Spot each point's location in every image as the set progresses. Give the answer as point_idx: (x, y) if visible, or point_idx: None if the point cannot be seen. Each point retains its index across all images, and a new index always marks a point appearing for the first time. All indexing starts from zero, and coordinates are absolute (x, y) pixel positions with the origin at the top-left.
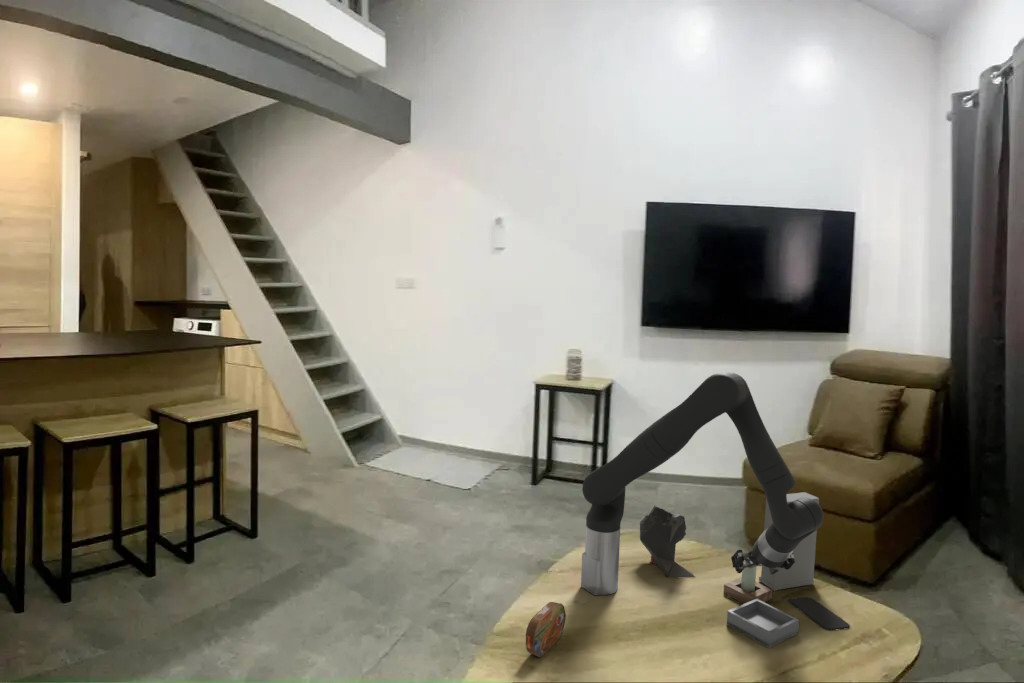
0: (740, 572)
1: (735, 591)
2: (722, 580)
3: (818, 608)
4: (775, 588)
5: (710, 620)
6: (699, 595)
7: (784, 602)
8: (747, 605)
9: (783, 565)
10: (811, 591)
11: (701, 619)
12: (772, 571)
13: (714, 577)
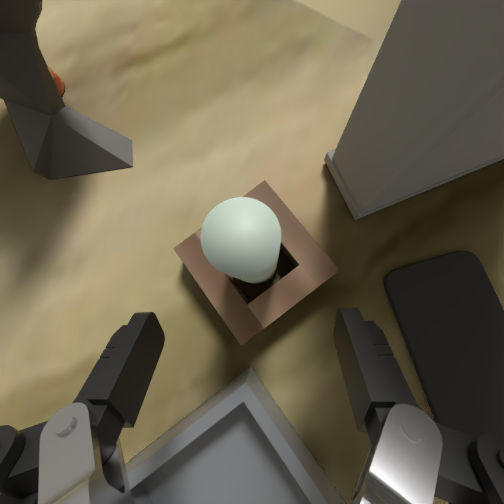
0: (156, 356)
1: (202, 288)
2: (208, 172)
3: (480, 335)
4: (363, 215)
5: None
6: (107, 277)
7: (368, 292)
8: (192, 440)
9: (449, 497)
10: (488, 204)
11: None
12: (343, 370)
13: (189, 156)
